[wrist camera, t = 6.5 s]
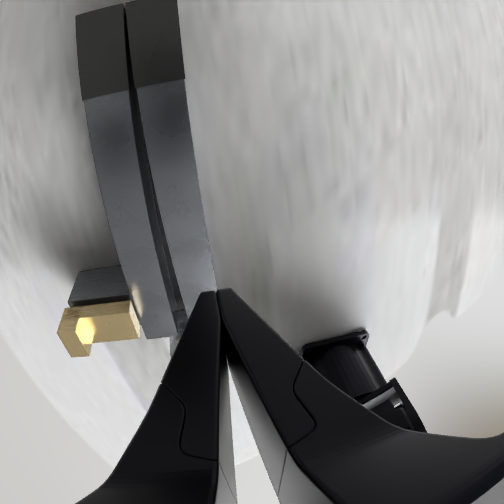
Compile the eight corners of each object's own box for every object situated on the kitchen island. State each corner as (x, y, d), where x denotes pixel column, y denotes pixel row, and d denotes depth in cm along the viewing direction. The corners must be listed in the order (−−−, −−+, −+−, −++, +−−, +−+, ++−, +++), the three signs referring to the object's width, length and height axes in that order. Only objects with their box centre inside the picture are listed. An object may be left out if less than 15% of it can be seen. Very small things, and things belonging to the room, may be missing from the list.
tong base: (133, 15, 11) (123, 3, 9) (177, 303, 21) (178, 336, 19) (28, 47, 10) (0, 45, 8) (96, 313, 20) (89, 346, 18)
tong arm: (177, 7, 12) (176, -7, 9) (225, 330, 23) (232, 361, 21) (100, 24, 11) (83, 14, 9) (174, 338, 23) (176, 371, 20)
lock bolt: (130, 300, 16) (127, 326, 14) (140, 325, 17) (138, 351, 16) (64, 308, 16) (56, 333, 14) (77, 332, 17) (71, 357, 15)
